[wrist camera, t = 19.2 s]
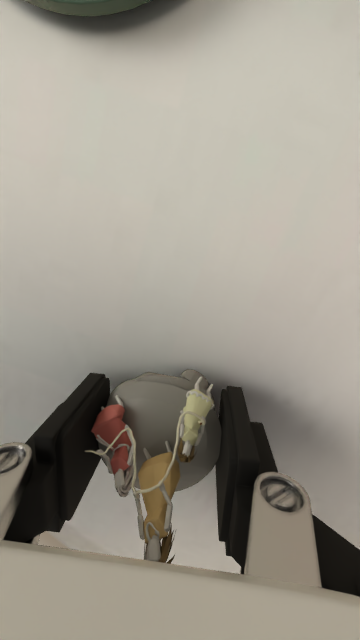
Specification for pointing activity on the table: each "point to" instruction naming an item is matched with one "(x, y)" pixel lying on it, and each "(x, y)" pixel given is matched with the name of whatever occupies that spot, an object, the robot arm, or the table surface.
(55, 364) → the table surface
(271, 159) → the table surface
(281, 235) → the table surface
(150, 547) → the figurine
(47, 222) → the table surface
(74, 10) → the trash can lid
